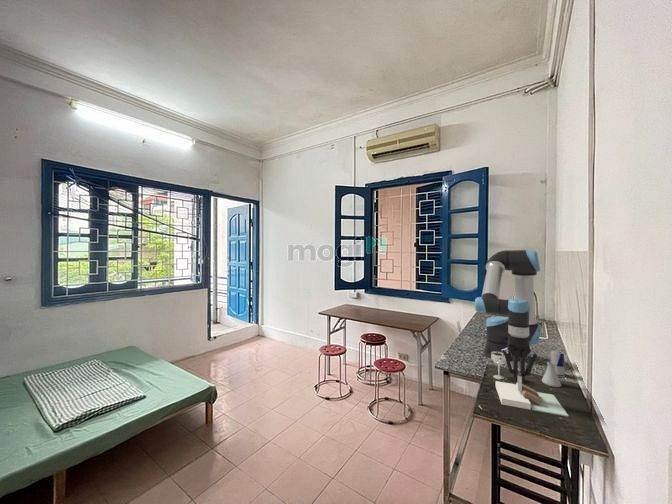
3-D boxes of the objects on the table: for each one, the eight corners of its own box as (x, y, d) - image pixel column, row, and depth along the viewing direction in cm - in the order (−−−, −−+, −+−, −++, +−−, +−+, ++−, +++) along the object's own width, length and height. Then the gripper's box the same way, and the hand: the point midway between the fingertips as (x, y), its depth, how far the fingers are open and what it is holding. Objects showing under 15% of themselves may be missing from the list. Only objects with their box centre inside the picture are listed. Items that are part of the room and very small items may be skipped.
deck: (495, 386, 125) (495, 381, 125) (520, 390, 121) (520, 385, 121) (501, 404, 111) (501, 398, 111) (530, 409, 107) (530, 403, 107)
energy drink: (567, 377, 133) (566, 354, 133) (555, 377, 134) (554, 353, 134) (560, 373, 138) (559, 350, 138) (548, 372, 139) (548, 349, 139)
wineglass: (488, 375, 137) (487, 351, 137) (498, 373, 138) (498, 350, 138) (499, 381, 130) (498, 356, 130) (510, 379, 132) (510, 355, 132)
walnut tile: (518, 386, 119) (520, 382, 118) (533, 394, 116) (535, 390, 116) (523, 396, 110) (525, 392, 110) (539, 404, 108) (542, 400, 108)
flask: (538, 380, 131) (537, 359, 131) (553, 380, 131) (552, 359, 131) (549, 387, 124) (549, 366, 124) (565, 387, 124) (565, 366, 124)
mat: (522, 390, 121) (522, 389, 121) (553, 395, 117) (553, 394, 117) (532, 410, 106) (532, 408, 106) (568, 416, 102) (568, 415, 102)
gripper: (502, 336, 114) (503, 391, 114) (539, 339, 109) (540, 397, 109) (499, 331, 121) (500, 383, 121) (534, 334, 116) (534, 388, 116)
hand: (519, 389), depth 115 cm, fingers closed
